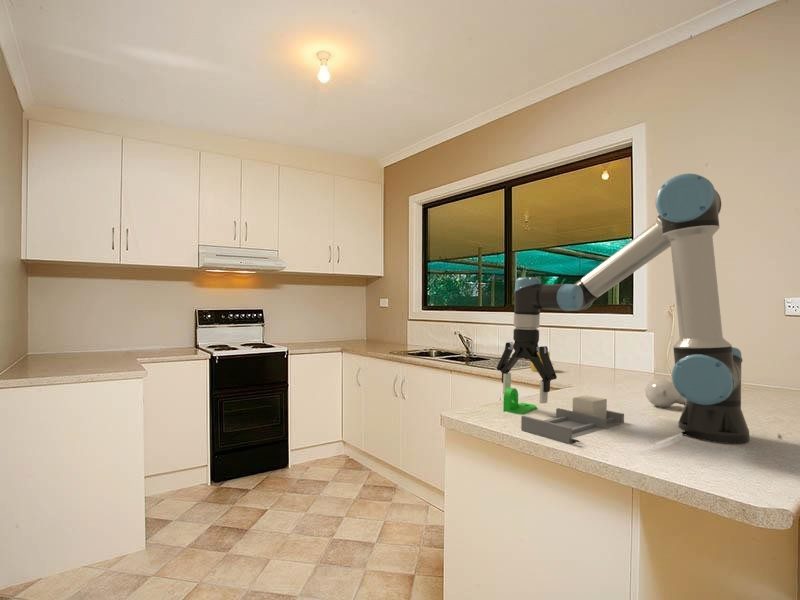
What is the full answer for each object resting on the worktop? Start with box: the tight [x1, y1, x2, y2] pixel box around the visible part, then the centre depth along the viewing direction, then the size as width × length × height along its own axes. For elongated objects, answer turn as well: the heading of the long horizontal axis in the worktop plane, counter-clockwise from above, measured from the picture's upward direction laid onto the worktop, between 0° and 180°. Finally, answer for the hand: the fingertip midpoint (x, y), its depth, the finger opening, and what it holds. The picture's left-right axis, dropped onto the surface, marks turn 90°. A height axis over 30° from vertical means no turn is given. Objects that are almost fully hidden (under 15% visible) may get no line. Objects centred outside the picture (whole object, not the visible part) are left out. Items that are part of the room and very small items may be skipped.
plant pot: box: [528, 351, 550, 373], centre depth 226 cm, size 10×10×10 cm
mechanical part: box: [502, 387, 537, 415], centre depth 139 cm, size 12×6×8 cm, turn 139°
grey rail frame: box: [520, 407, 625, 445], centre depth 122 cm, size 14×26×4 cm, turn 127°
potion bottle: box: [645, 378, 687, 409], centre depth 149 cm, size 9×10×15 cm
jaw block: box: [572, 395, 608, 419], centre depth 126 cm, size 6×7×6 cm
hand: (524, 398), depth 138 cm, fingers open, 13 cm apart
